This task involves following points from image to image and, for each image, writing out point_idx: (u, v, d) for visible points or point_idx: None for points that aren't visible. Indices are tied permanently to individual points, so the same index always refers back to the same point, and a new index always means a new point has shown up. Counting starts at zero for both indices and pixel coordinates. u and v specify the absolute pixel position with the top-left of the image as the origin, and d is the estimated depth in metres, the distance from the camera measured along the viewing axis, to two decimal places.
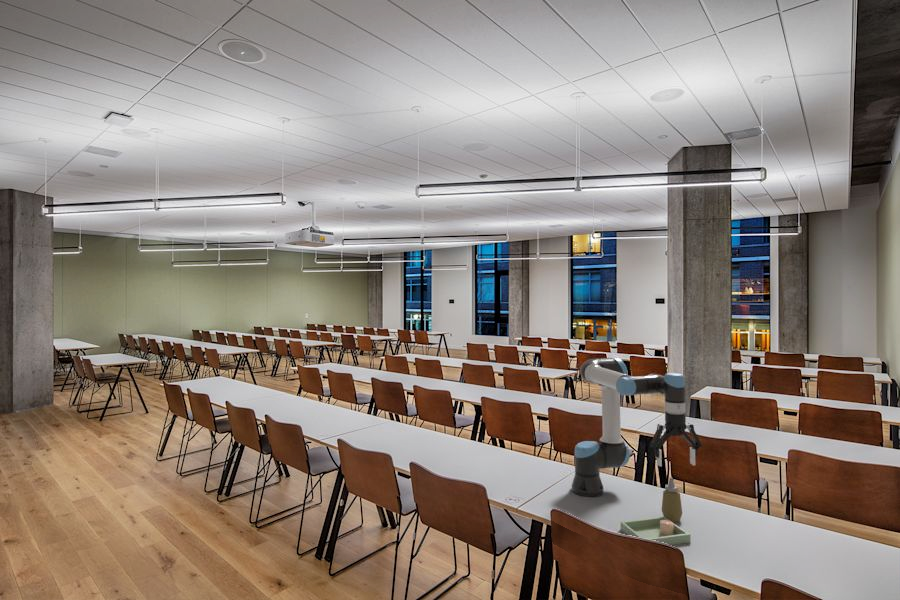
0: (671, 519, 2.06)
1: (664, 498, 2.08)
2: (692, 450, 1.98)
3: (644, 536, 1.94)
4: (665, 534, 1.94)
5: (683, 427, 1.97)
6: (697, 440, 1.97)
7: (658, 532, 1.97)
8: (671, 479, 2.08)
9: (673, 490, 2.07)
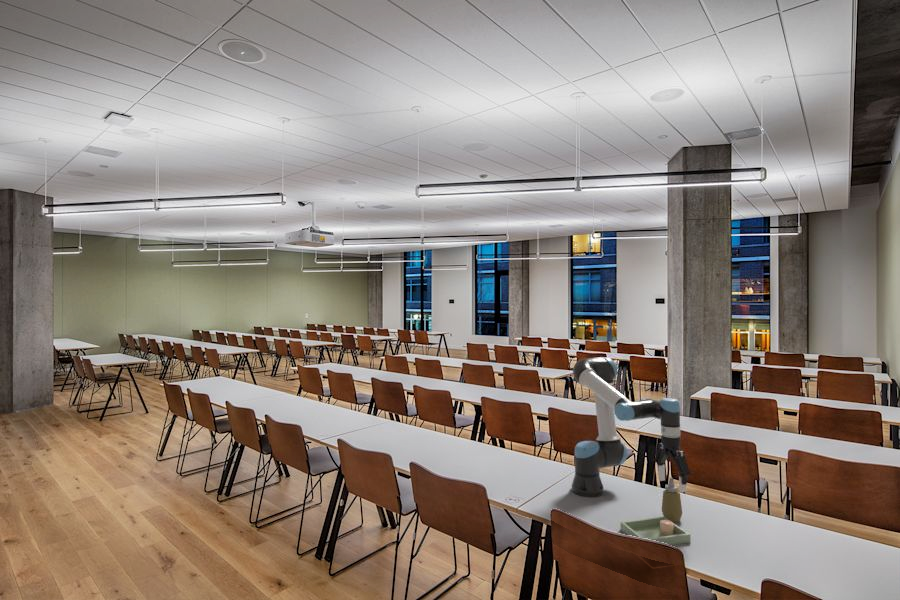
0: (671, 519, 2.06)
1: (664, 498, 2.08)
2: None
3: (644, 536, 1.94)
4: (665, 534, 1.94)
5: (672, 451, 2.06)
6: (682, 468, 2.01)
7: (658, 532, 1.97)
8: (671, 479, 2.08)
9: (673, 490, 2.07)
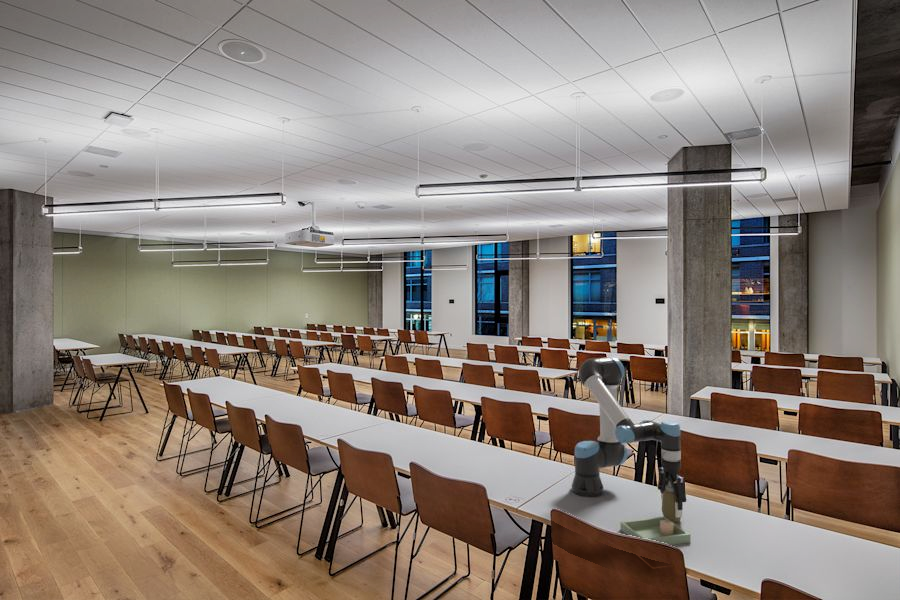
0: (671, 519, 2.06)
1: (664, 498, 2.08)
2: None
3: (644, 536, 1.94)
4: (665, 534, 1.94)
5: (673, 475, 2.06)
6: (679, 494, 2.02)
7: (658, 532, 1.97)
8: None
9: (673, 490, 2.07)
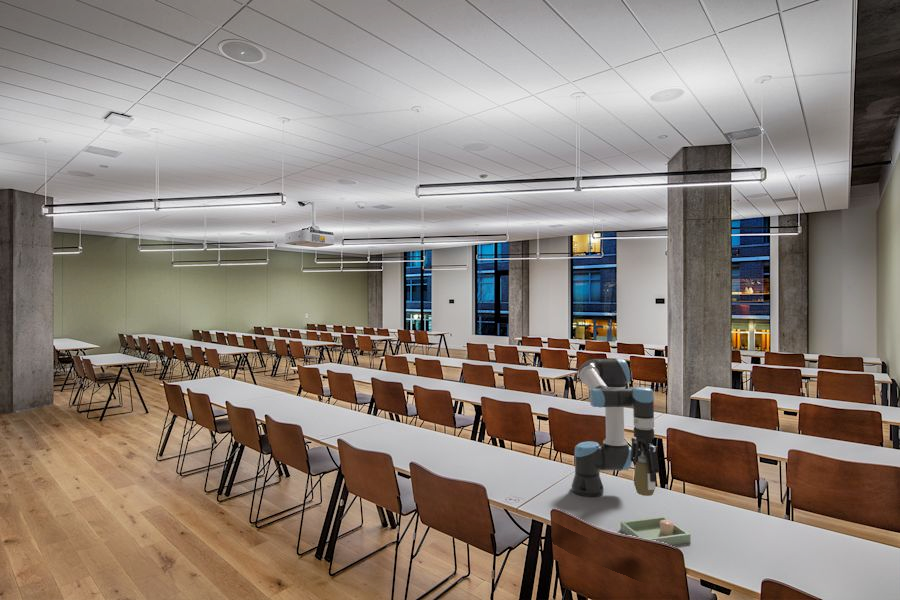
0: (643, 492, 1.91)
1: (636, 469, 1.93)
2: None
3: (644, 536, 1.94)
4: (665, 534, 1.94)
5: (645, 444, 1.91)
6: (651, 464, 1.87)
7: (658, 532, 1.97)
8: None
9: None
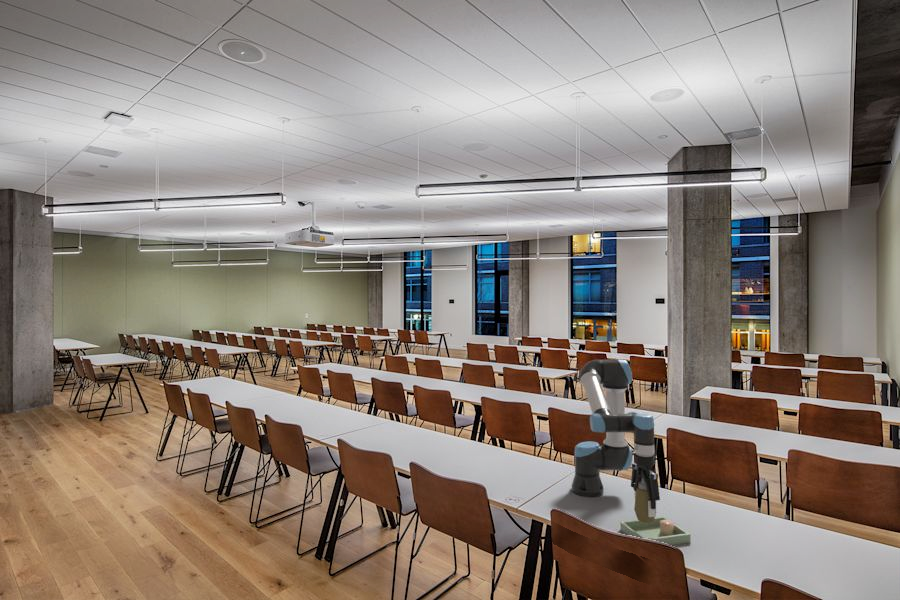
0: (644, 519, 1.91)
1: (637, 496, 1.93)
2: None
3: (644, 536, 1.94)
4: (665, 534, 1.94)
5: (645, 471, 1.91)
6: (652, 492, 1.87)
7: (658, 532, 1.97)
8: None
9: (646, 487, 1.92)
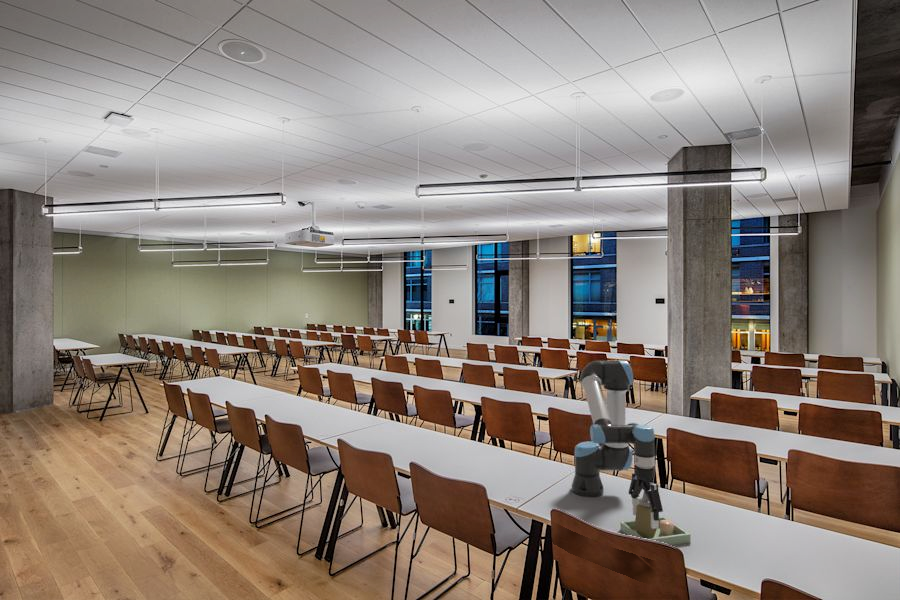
0: (644, 535, 1.91)
1: (637, 513, 1.93)
2: None
3: None
4: (665, 534, 1.94)
5: (646, 483, 1.91)
6: (654, 503, 1.86)
7: (658, 532, 1.97)
8: None
9: (647, 504, 1.92)
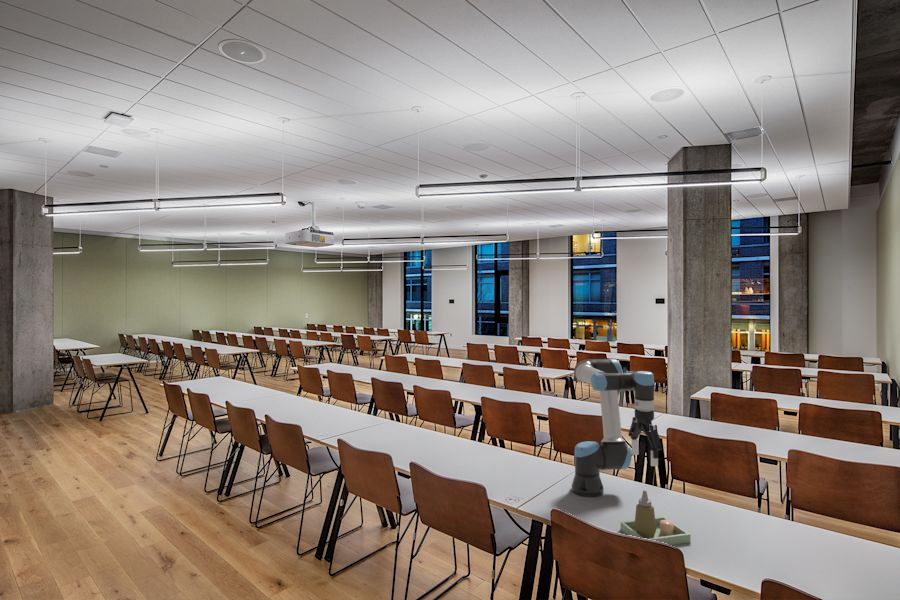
0: (644, 535, 1.91)
1: (637, 513, 1.94)
2: None
3: None
4: (665, 534, 1.94)
5: (645, 425, 2.02)
6: (653, 442, 1.96)
7: (658, 532, 1.97)
8: (644, 492, 1.94)
9: (646, 504, 1.92)
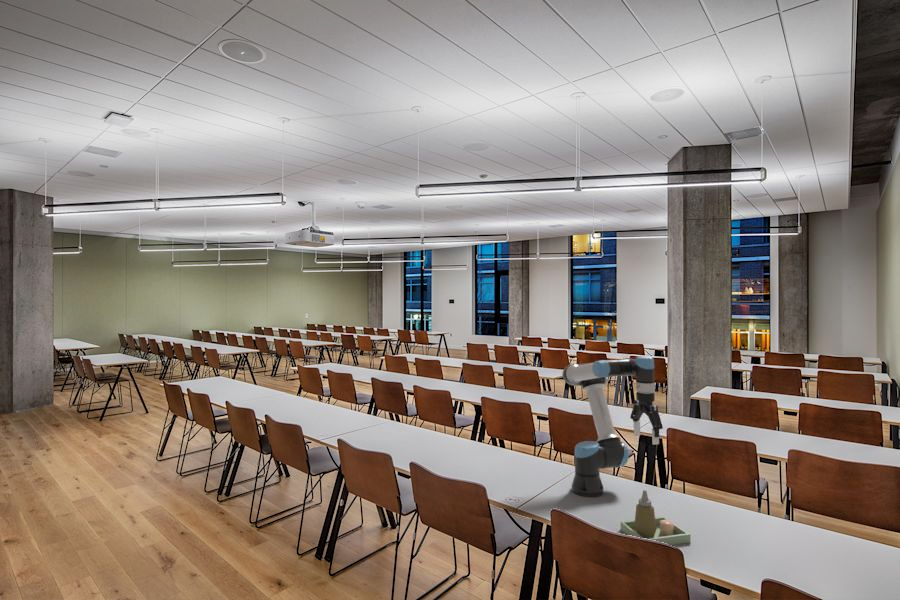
0: (644, 535, 1.91)
1: (637, 513, 1.94)
2: None
3: None
4: (665, 534, 1.94)
5: (647, 406, 2.15)
6: (655, 421, 2.09)
7: (658, 532, 1.97)
8: (644, 492, 1.94)
9: (646, 504, 1.92)
